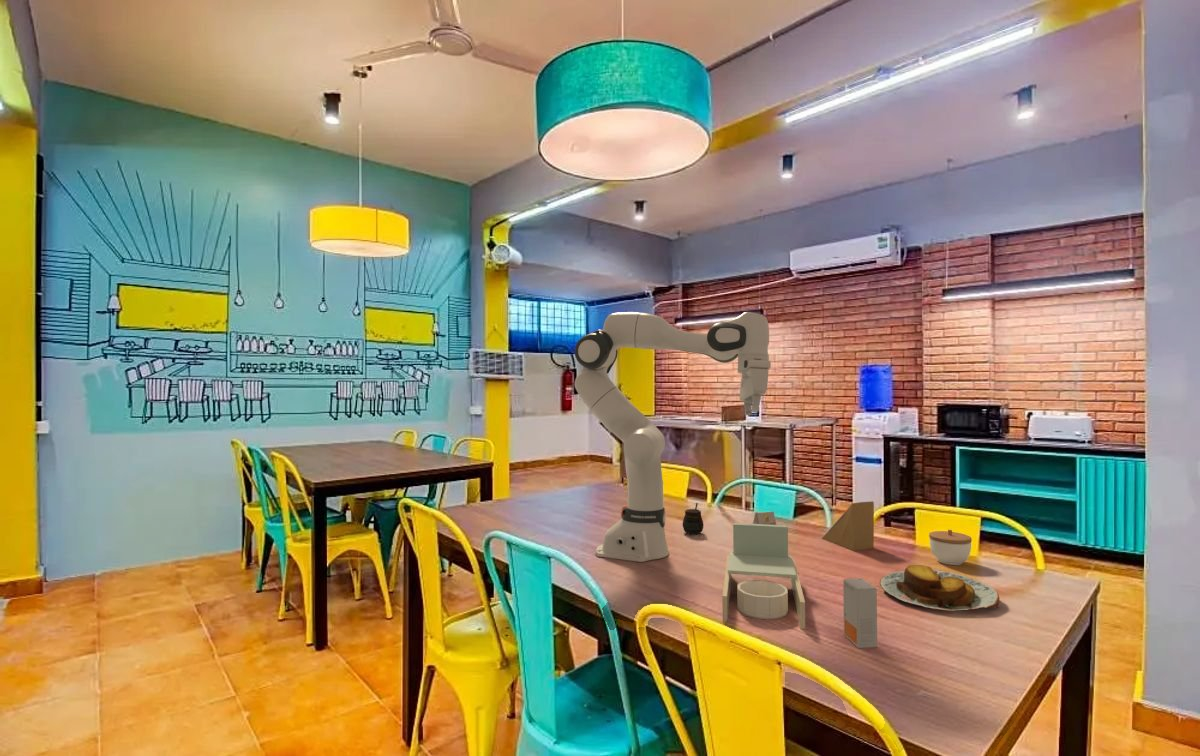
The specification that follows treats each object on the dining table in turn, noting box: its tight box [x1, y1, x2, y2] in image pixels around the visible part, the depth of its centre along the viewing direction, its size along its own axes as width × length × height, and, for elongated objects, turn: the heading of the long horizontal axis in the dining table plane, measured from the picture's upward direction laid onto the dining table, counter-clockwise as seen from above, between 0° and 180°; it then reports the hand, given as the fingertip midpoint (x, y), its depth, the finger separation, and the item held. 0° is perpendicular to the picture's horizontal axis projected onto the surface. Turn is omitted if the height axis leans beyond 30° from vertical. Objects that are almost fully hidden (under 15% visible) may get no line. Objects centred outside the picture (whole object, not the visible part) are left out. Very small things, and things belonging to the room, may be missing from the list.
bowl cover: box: [728, 522, 796, 579], centre depth 153 cm, size 16×16×9 cm
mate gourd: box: [682, 502, 705, 536], centre depth 210 cm, size 7×8×10 cm
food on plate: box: [879, 564, 1000, 612], centre depth 148 cm, size 25×25×7 cm
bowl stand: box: [721, 554, 806, 630], centre depth 146 cm, size 17×32×6 cm, turn 166°
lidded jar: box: [928, 529, 973, 566], centre depth 175 cm, size 11×11×9 cm
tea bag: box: [752, 511, 778, 525], centre depth 197 cm, size 4×7×10 cm, turn 107°
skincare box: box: [842, 578, 878, 649], centre depth 122 cm, size 6×4×12 cm
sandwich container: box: [821, 500, 875, 551], centre depth 196 cm, size 9×15×15 cm, turn 18°
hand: (751, 413), depth 175 cm, fingers open, 8 cm apart
